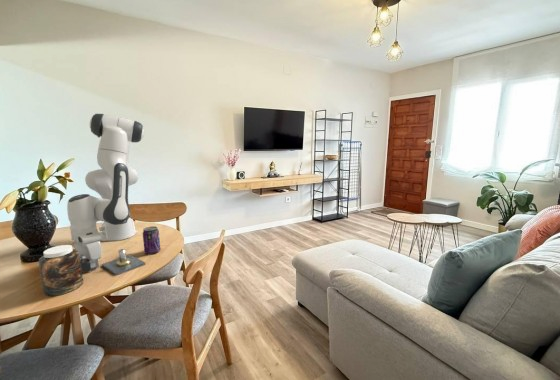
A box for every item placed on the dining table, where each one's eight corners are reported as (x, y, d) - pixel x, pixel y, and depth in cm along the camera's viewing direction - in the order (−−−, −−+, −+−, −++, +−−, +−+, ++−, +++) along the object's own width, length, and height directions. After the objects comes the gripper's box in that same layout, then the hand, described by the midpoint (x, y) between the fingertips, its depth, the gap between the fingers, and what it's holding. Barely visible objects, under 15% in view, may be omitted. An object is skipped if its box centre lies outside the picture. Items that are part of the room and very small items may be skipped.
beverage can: (154, 255, 126) (151, 231, 124) (141, 254, 127) (138, 230, 125) (163, 249, 133) (161, 226, 131) (151, 248, 134) (148, 225, 132)
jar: (38, 290, 97) (31, 251, 94) (75, 276, 107) (70, 241, 104) (51, 299, 91) (44, 258, 88) (89, 284, 101) (84, 247, 98)
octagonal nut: (77, 269, 113) (76, 260, 112) (94, 263, 118) (93, 255, 117) (82, 273, 109) (81, 264, 108) (100, 267, 114) (99, 259, 113)
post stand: (101, 266, 115) (99, 250, 114) (130, 256, 125) (129, 242, 123) (115, 275, 107) (113, 259, 106) (145, 264, 116) (143, 249, 115)
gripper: (67, 230, 114) (72, 260, 117) (84, 241, 102) (89, 274, 105) (84, 227, 119) (88, 255, 122) (102, 236, 107) (107, 268, 110)
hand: (89, 264), depth 113 cm, fingers closed on octagonal nut, 6 cm apart
